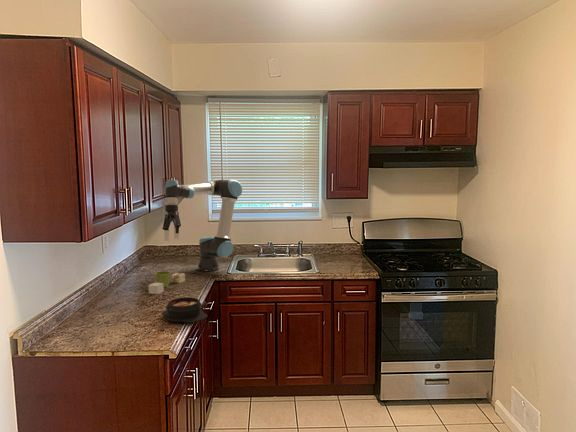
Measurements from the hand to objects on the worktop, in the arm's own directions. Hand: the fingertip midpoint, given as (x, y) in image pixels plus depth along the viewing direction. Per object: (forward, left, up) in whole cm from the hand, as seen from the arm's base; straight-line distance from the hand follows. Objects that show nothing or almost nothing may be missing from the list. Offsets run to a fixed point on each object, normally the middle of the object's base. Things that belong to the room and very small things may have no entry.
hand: (171, 240), depth 267 cm
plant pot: (-1, -6, -29) cm, 30 cm away
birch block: (-12, +1, -29) cm, 31 cm away
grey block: (+11, -7, -29) cm, 32 cm away
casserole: (+57, +18, -29) cm, 67 cm away
